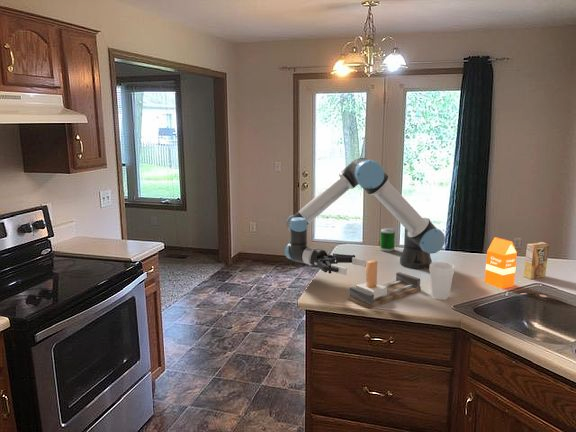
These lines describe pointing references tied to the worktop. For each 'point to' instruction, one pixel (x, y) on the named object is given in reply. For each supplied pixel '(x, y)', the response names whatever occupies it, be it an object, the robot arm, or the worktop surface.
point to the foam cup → (441, 279)
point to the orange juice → (500, 263)
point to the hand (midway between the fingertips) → (356, 267)
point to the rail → (394, 290)
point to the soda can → (387, 239)
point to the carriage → (372, 281)
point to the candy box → (536, 260)
